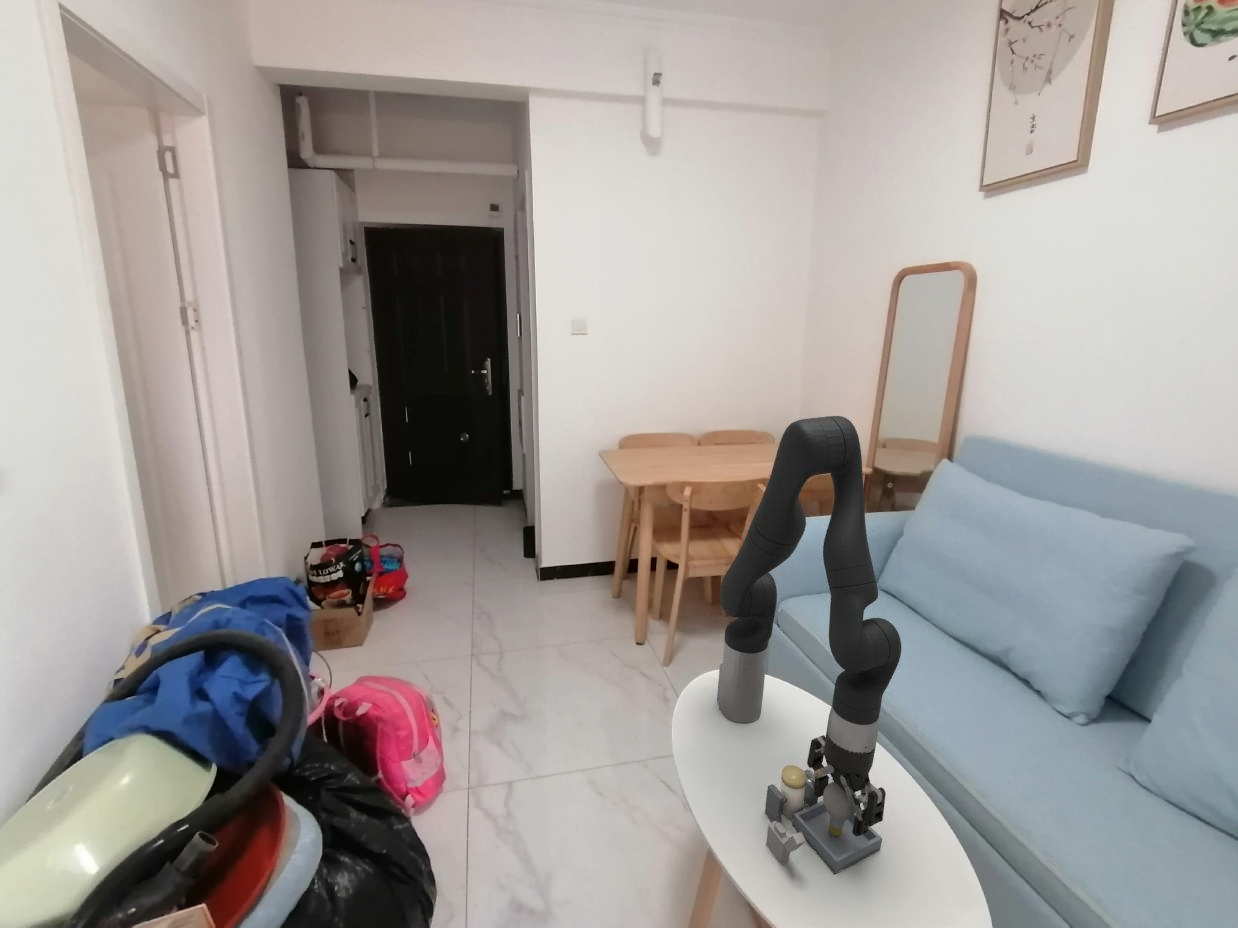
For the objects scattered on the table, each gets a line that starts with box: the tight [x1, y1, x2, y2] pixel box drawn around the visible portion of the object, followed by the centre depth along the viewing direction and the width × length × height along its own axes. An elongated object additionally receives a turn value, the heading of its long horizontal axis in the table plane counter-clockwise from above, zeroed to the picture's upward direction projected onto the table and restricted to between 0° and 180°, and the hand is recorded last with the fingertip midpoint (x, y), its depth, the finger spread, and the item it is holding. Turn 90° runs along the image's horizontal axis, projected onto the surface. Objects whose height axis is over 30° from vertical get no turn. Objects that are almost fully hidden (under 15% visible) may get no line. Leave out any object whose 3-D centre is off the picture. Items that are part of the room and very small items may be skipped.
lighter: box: [765, 821, 806, 865], centre depth 98 cm, size 7×2×8 cm, turn 23°
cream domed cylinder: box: [780, 764, 807, 821], centre depth 107 cm, size 4×4×8 cm
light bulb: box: [822, 781, 858, 836], centre depth 102 cm, size 6×6×10 cm
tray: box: [791, 800, 883, 875], centre depth 103 cm, size 10×10×2 cm
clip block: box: [764, 768, 819, 824], centre depth 109 cm, size 3×17×6 cm, turn 116°
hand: (838, 813), depth 102 cm, fingers open, 8 cm apart
